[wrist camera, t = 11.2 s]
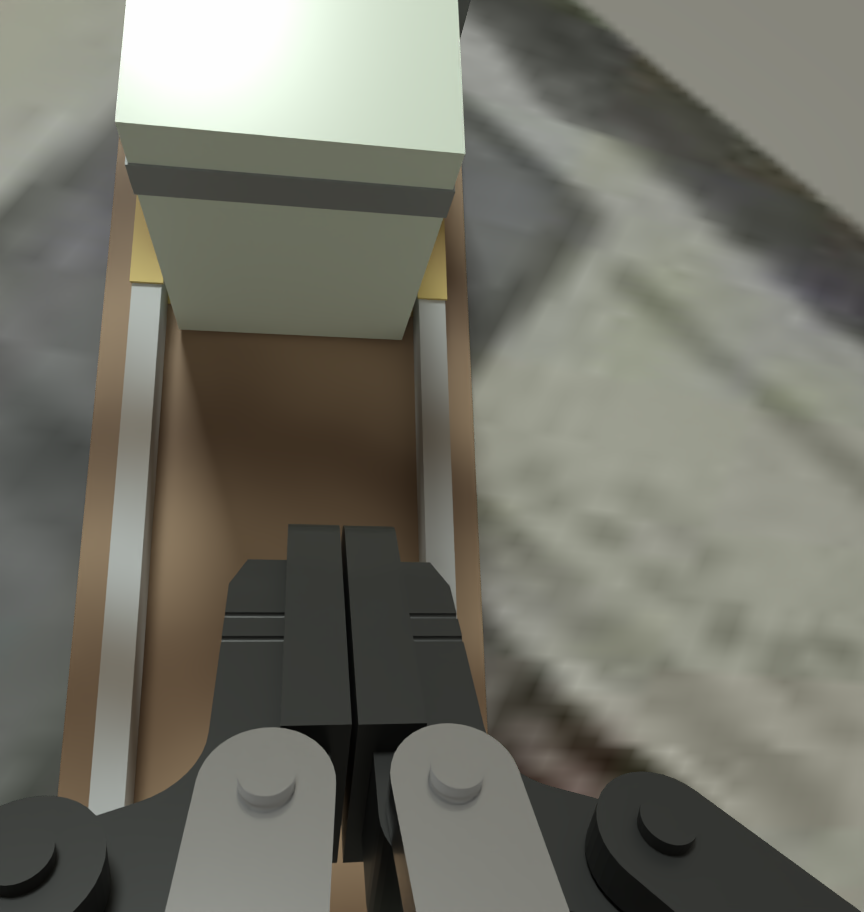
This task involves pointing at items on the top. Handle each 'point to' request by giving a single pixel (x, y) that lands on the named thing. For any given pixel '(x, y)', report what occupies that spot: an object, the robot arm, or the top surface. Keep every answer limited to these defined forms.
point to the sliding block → (292, 156)
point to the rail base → (248, 496)
